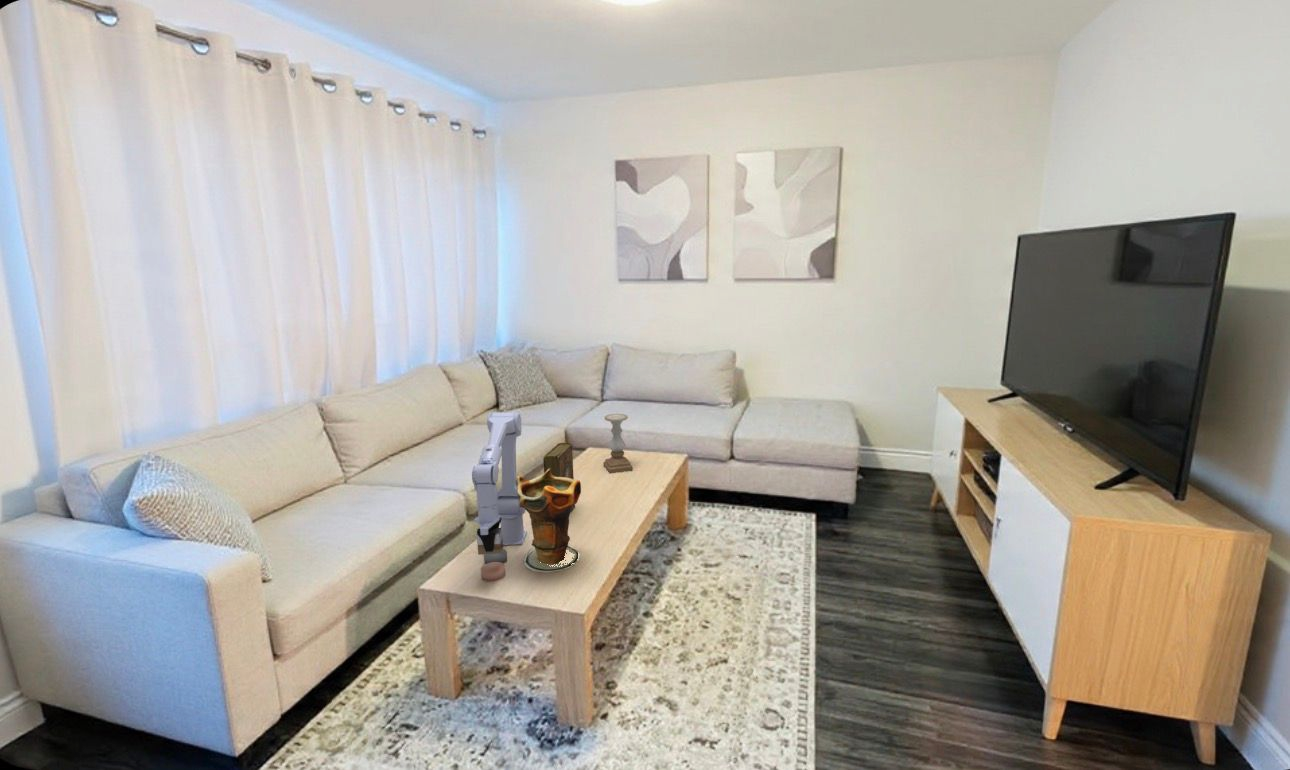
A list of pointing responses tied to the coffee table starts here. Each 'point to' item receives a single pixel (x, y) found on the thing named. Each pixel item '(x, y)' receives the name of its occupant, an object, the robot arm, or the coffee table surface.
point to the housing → (497, 543)
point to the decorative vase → (548, 518)
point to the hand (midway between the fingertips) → (491, 547)
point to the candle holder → (617, 446)
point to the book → (560, 461)
